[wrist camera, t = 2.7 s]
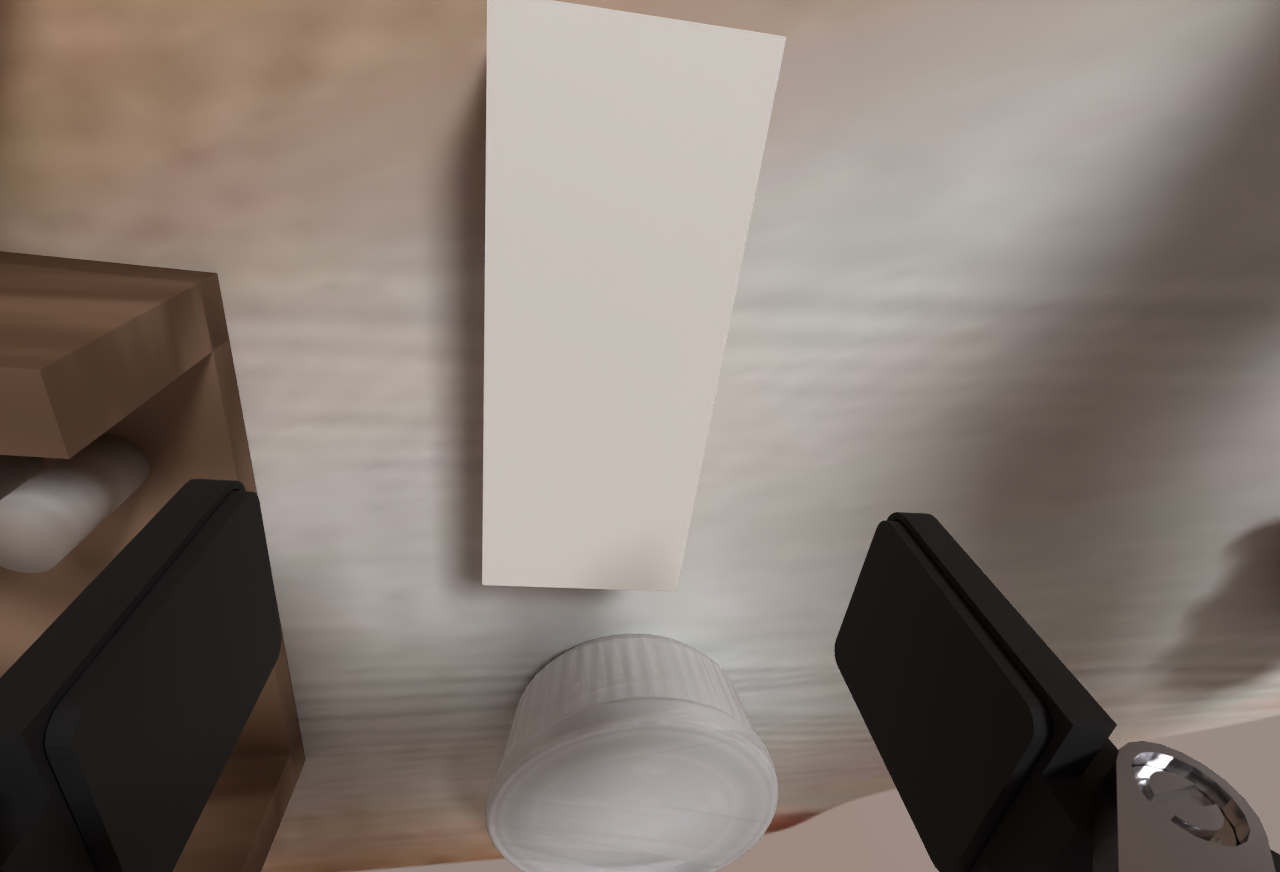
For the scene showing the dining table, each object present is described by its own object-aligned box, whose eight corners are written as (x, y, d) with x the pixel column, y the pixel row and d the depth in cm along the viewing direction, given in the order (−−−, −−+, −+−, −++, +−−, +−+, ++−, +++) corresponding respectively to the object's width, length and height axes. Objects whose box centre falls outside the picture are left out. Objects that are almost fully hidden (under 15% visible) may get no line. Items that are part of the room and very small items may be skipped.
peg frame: (-190, 232, 17) (-614, 318, 11) (216, 273, 18) (39, 369, 12) (57, 759, 28) (-92, 953, 21) (305, 760, 29) (231, 943, 23)
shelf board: (508, 10, 16) (487, -11, 12) (738, 45, 17) (786, 36, 13) (497, 499, 23) (482, 585, 20) (660, 508, 24) (676, 591, 20)
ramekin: (526, 794, 32) (517, 916, 27) (472, 631, 26) (449, 749, 22) (751, 761, 32) (780, 876, 27) (745, 592, 26) (780, 701, 22)
